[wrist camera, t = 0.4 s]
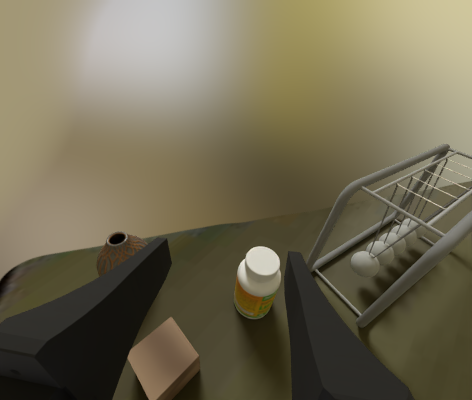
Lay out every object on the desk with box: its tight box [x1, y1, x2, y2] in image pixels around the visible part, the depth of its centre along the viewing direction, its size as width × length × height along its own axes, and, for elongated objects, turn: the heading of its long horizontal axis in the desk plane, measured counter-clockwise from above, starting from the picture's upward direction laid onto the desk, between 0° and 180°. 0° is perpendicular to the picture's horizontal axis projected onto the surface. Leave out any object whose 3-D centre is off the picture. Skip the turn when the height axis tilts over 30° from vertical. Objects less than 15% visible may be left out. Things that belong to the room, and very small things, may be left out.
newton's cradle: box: [306, 144, 472, 328], centre depth 33 cm, size 30×10×18 cm, turn 122°
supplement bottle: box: [234, 247, 281, 319], centre depth 28 cm, size 5×5×10 cm
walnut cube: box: [127, 317, 200, 400], centre depth 23 cm, size 5×5×5 cm
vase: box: [97, 232, 148, 277], centre depth 29 cm, size 7×7×9 cm
